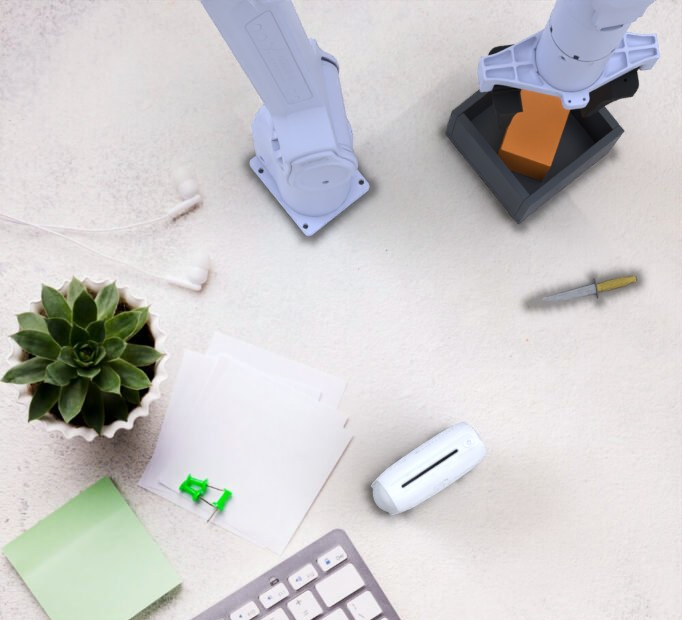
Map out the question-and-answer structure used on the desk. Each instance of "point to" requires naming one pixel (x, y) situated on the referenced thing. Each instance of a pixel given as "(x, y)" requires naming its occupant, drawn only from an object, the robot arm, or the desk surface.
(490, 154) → the bin
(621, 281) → the dagger
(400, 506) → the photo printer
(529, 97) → the block
